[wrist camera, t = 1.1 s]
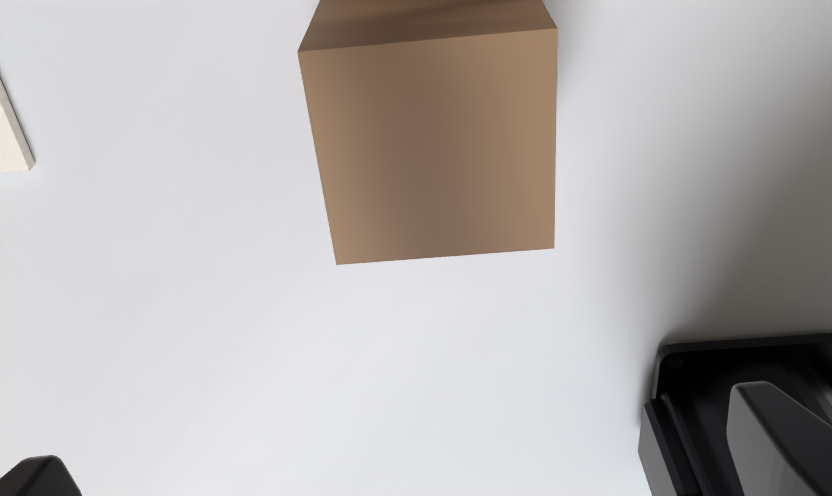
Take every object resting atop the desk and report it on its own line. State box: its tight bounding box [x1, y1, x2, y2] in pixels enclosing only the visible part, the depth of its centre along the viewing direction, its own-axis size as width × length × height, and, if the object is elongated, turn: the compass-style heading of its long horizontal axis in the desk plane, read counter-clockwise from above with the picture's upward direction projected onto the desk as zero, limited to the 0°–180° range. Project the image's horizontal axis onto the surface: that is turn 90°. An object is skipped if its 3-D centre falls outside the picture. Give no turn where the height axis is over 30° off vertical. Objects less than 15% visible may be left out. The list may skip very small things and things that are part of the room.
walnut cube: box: [298, 0, 557, 265], centre depth 17 cm, size 5×5×5 cm
